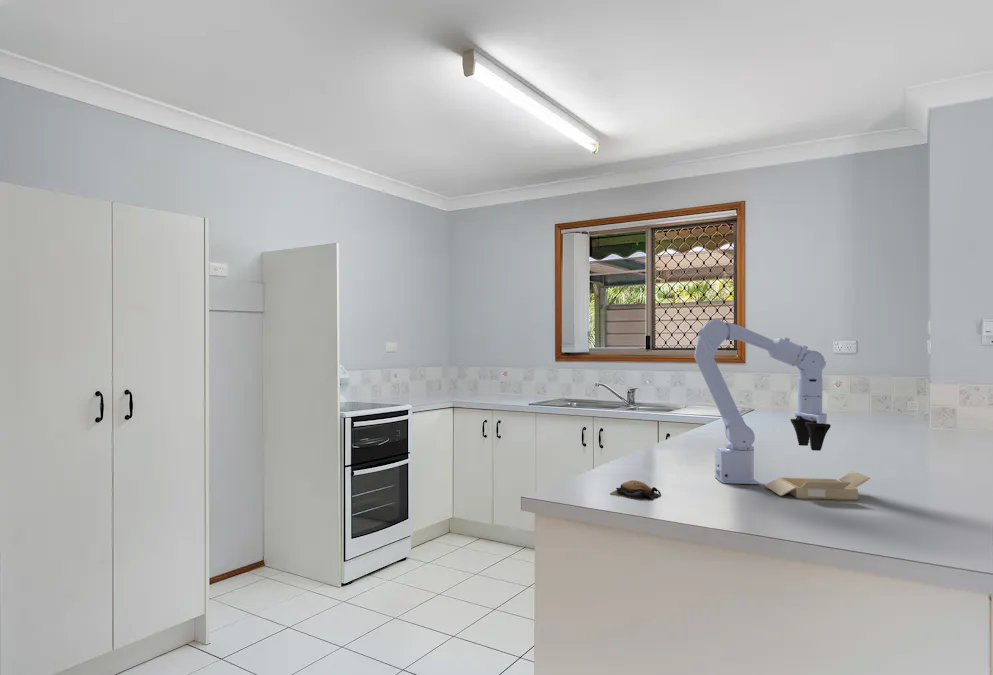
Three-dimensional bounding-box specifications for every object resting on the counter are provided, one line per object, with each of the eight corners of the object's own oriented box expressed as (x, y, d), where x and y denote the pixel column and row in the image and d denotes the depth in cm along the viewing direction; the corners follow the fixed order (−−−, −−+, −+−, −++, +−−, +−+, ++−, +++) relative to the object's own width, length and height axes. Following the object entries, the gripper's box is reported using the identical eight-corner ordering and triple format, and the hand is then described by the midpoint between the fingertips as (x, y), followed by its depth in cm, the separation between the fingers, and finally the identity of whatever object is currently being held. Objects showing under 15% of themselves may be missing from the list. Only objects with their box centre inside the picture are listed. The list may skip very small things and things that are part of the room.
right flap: (869, 477, 146) (870, 478, 146) (852, 470, 154) (853, 471, 154) (855, 486, 147) (856, 487, 147) (839, 479, 155) (839, 480, 155)
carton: (780, 497, 146) (781, 487, 146) (758, 483, 161) (758, 474, 161) (858, 500, 145) (858, 489, 145) (828, 486, 160) (828, 476, 160)
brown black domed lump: (607, 497, 147) (608, 481, 147) (621, 490, 154) (621, 475, 154) (651, 504, 141) (651, 487, 141) (663, 496, 148) (663, 481, 148)
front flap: (800, 486, 146) (801, 487, 146) (807, 480, 143) (807, 481, 142) (843, 487, 145) (843, 488, 145) (850, 481, 142) (851, 482, 142)
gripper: (839, 398, 153) (838, 453, 153) (813, 394, 167) (813, 443, 167) (810, 398, 153) (809, 452, 153) (786, 393, 168) (786, 443, 168)
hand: (809, 447), depth 160 cm, fingers open, 7 cm apart
